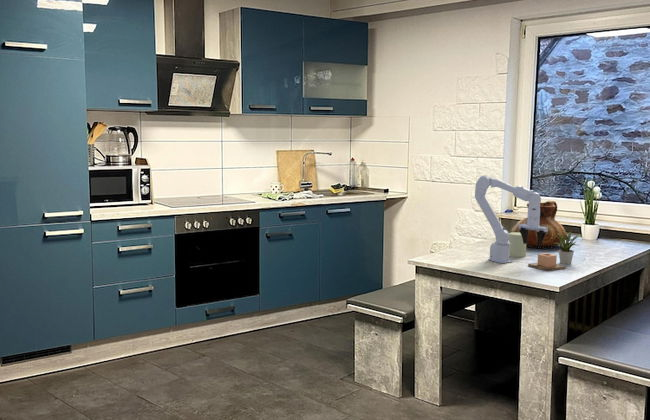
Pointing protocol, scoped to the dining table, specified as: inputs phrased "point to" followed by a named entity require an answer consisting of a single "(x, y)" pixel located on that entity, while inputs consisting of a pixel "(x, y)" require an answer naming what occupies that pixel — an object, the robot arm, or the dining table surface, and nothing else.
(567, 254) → the house plant
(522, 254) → the can
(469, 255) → the dining table surface
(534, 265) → the keeper
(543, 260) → the open box
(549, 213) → the jug
